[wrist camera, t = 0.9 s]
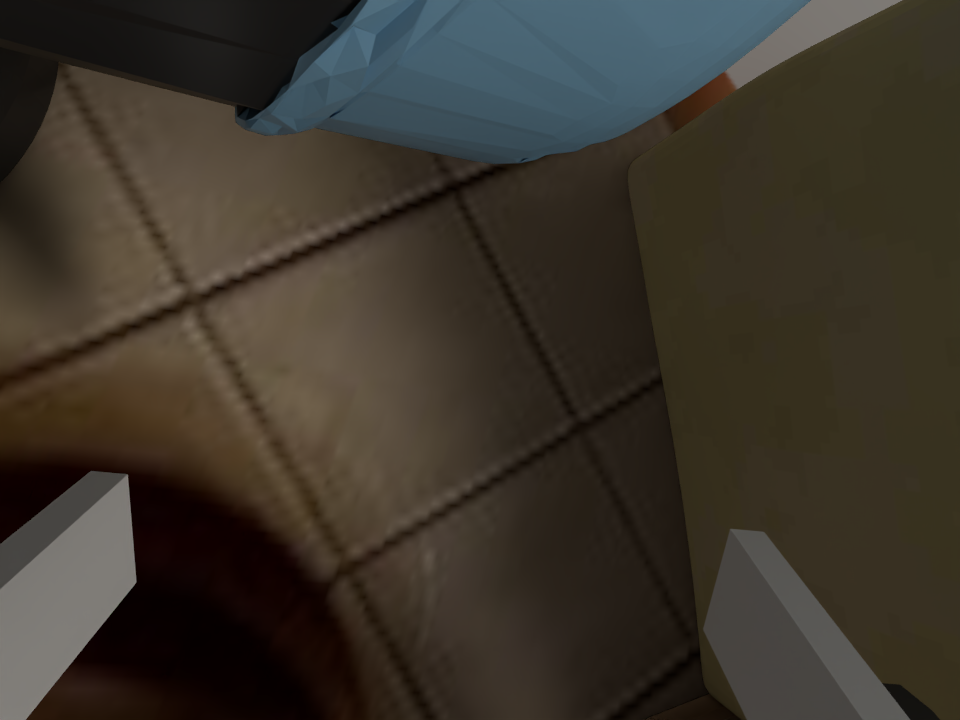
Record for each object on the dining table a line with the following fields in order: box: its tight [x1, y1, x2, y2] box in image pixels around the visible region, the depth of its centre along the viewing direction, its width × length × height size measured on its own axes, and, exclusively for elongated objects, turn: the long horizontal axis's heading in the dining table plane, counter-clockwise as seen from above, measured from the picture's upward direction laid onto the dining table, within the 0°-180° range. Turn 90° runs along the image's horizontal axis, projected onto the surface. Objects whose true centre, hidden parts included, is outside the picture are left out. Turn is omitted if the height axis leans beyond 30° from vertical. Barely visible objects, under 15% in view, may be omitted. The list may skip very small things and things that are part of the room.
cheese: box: [627, 0, 960, 720], centre depth 19 cm, size 22×10×15 cm, turn 19°
